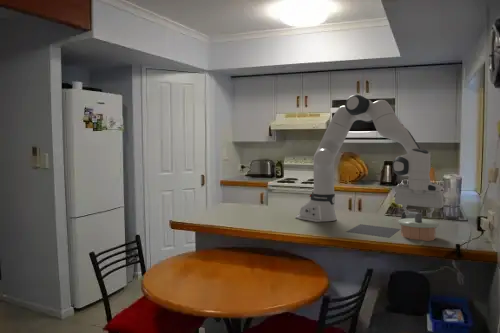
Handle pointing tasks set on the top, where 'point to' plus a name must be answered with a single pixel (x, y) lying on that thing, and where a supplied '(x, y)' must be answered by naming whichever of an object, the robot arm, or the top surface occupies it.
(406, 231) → the bowl
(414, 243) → the top surface
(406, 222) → the lid
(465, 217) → the top surface
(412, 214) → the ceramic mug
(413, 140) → the robot arm
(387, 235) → the mat
